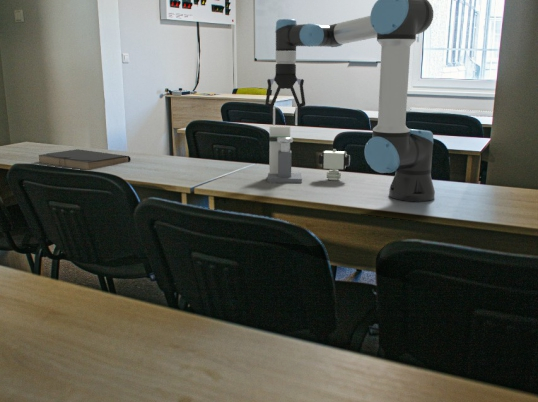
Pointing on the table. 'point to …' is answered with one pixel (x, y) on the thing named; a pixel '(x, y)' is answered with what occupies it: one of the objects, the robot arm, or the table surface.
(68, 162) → the brown book
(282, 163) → the stand
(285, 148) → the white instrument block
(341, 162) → the pneumatic valve
